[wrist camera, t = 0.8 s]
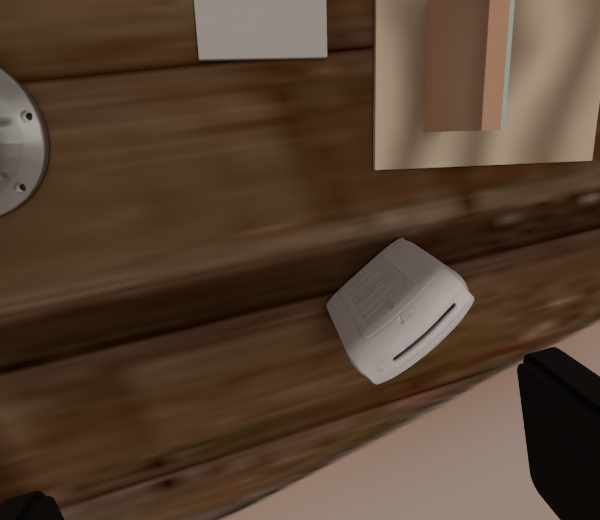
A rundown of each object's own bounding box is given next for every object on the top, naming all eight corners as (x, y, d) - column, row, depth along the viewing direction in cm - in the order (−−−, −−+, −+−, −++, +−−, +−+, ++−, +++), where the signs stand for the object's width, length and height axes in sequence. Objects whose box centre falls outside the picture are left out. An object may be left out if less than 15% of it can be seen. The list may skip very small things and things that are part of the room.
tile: (423, 132, 39) (481, 130, 30) (427, 1, 37) (492, -47, 27) (441, 131, 40) (505, 129, 30) (447, 1, 37) (518, -47, 27)
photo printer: (347, 335, 44) (385, 408, 32) (317, 305, 43) (345, 369, 31) (429, 261, 43) (499, 309, 31) (400, 229, 42) (462, 265, 30)
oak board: (373, 169, 40) (375, 170, 40) (374, -40, 36) (376, -43, 36) (587, 160, 42) (592, 160, 42) (611, -39, 38) (617, -41, 38)
